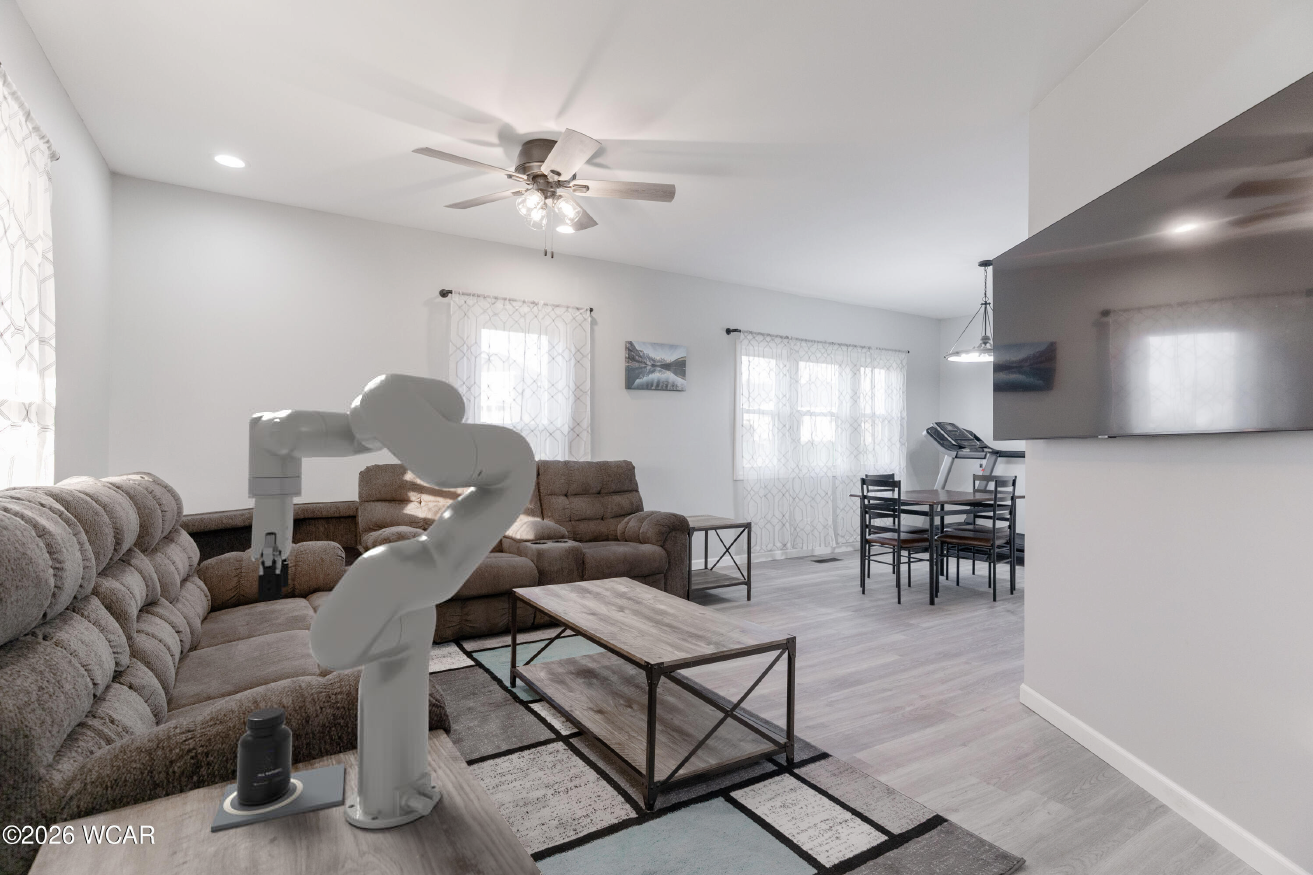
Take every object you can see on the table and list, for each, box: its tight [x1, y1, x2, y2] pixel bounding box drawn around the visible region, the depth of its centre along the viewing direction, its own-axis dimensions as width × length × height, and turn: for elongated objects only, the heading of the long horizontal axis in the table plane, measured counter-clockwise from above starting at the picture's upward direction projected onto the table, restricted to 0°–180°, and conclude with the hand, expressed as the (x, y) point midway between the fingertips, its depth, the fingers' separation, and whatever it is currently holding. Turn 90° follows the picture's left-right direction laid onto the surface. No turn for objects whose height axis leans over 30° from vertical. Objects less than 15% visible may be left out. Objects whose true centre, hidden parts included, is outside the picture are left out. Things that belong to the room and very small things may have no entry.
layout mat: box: [210, 763, 345, 832], centre depth 95 cm, size 16×12×1 cm
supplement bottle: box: [236, 707, 293, 807], centre depth 94 cm, size 7×7×12 cm
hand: (273, 593), depth 104 cm, fingers open, 9 cm apart
